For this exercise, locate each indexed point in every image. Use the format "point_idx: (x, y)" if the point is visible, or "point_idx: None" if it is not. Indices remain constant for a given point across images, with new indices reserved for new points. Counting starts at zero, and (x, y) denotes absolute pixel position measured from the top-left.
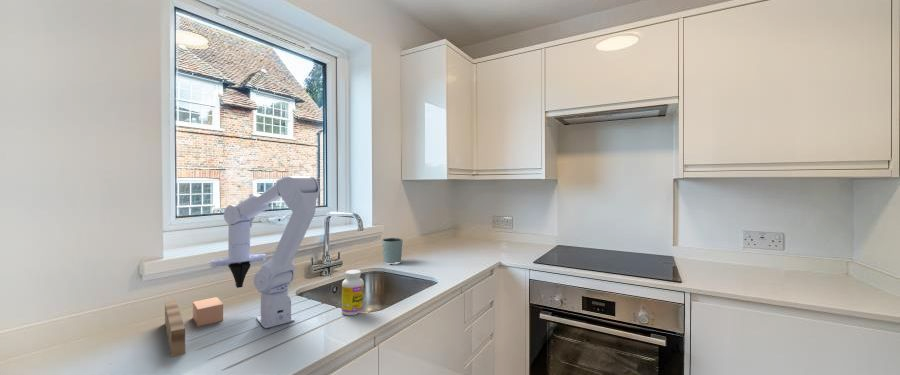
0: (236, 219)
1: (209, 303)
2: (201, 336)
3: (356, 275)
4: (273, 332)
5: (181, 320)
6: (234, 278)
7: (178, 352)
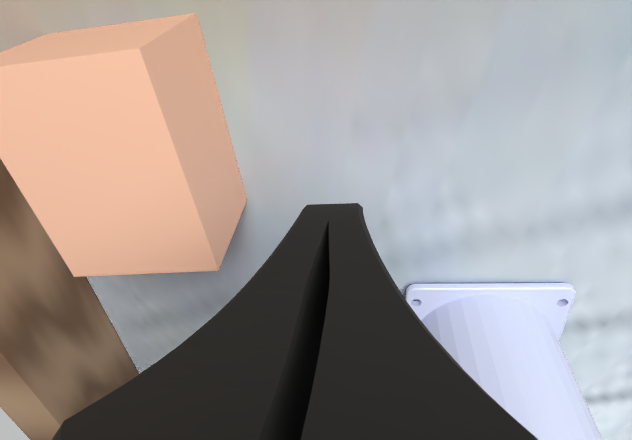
0: None
1: (117, 205)
2: (173, 319)
3: None
4: None
5: None
6: (268, 269)
7: None
